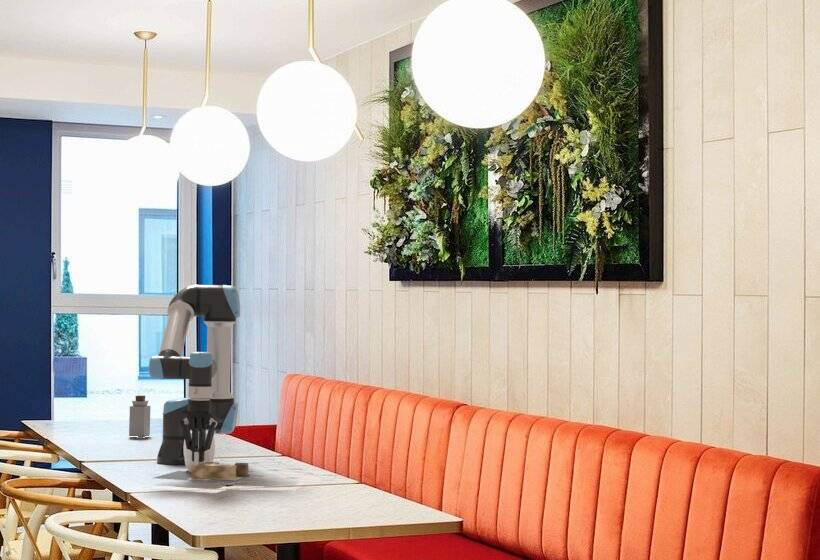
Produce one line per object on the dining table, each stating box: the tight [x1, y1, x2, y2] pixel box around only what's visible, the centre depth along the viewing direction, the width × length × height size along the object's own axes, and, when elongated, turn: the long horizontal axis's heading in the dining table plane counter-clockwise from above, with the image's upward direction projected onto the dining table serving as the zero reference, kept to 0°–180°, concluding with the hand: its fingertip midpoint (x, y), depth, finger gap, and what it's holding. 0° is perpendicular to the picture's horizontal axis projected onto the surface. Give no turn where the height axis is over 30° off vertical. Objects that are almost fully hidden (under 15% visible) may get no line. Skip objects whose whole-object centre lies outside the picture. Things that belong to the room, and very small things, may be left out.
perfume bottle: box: [128, 394, 151, 437], centre depth 484 cm, size 7×7×18 cm
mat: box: [153, 470, 253, 488], centre depth 363 cm, size 27×18×1 cm, turn 74°
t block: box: [190, 461, 236, 480], centre depth 362 cm, size 12×12×4 cm
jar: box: [184, 430, 216, 472], centre depth 378 cm, size 11×10×15 cm
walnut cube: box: [233, 462, 249, 478], centre depth 367 cm, size 4×4×4 cm
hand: (197, 471), depth 364 cm, fingers closed
